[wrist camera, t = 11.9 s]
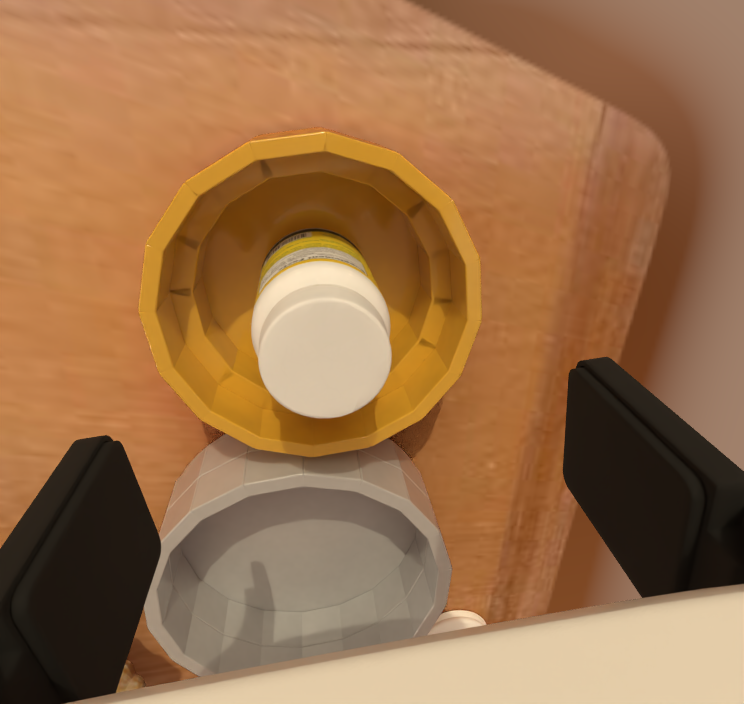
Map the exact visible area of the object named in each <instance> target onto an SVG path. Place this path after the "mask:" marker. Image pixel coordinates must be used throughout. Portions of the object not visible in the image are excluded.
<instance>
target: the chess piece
mask: <svg viewBox="0 0 744 704" xmlns="http://www.w3.org/2000/svg"><path fill="white" fill-rule="evenodd" d="M483 625H486V623H485V621H484V620H483V618H482V617H481V616H479V615H478V614H476V613H473V612H470V611H465V610H454V611H448V612H444V613H441V614H440V616H439V618H438V619H437V621H436V622H435V624H434V625H433V627H432V628H431V630H430V632H429V633H428V635H432V634H438V633H443V632H449V631H454V630H460V629H466V628H471V627H477V626H483Z"/></svg>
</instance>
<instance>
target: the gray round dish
mask: <svg viewBox="0 0 744 704" xmlns="http://www.w3.org/2000/svg"><path fill="white" fill-rule="evenodd" d="M158 534H159V537H160V540H161V555H160V558H159V562H158V565H157V568H156V571H155V574H154V577H153V580H152V583H151V586H150V589H149V592H148V595H147V598H146V601H145V604H144V611H145V616H146V622H147V627H148V630H149V631H150V632H151V634H152V635H153V636H154V637H155V639H156V640H157V641H158V643H159V644H160V645H161V647H162V648H163V649H164V650H165V652H166V653H167V654H168V656H169V657H170V658H171V660H173V661H174V662H176V663H177V664H179V665H181V666H182V667H184V668H186V669H187V670H189V671H191V672H192V673H194V674H196V675H197V676H199V677H203V676H208V675H214V674H219V673H224V672H230V671H235V670H240V669H246V668H251V667H256V666H262V665H267V664H272V663H278V662H283V661H289V660H294V659H299V658H305V657H311V656H316V655H322V654H327V653H333V652H338V651H344V650H349V649H355V648H360V647H366V646H371V645H377V644H382V643H388V642H393V641H399V640H404V639H410V638H415V637H421V636H427V635H428V633H429V632H430V630H431V628H432V627H433V625H434V624H435V622H436V621H437V619H438V618H439V616H440V614H441V613H442V611H443V610H444V608H445V606H446V604H447V598H448V592H449V586H450V580H451V574H452V565H451V562H450V559H449V556H448V553H447V549H446V546H445V543H444V540H443V537H442V534H441V531H440V528H439V525H438V522H437V519H436V517H435V514H434V511H433V508H432V505H431V502H430V499H429V496H428V493H427V490H426V487H425V485H424V482H423V479H422V476H421V473H420V472H419V470H418V469H417V468H416V466H415V464H414V463H413V462H412V460H411V459H410V458H409V457H408V455H407V454H406V453H405V452H404V451H403V450H402V449H401V448H400V447H399V446H398V445H397V444H396V443H395V442H393V441H392V440H390V439H389V438H387V439H385V440H383V441H381V442H380V443H378V444H376V445H374V446H372V447H371V446H370V447H369V448H364V449H358V450H352V451H347V452H341V453H335V454H330V455H324V456H318V457H306V456H299V455H292V454H286V453H279V452H272V451H265V450H259V449H255V448H252V447H250V446H248V445H246V444H244V443H243V442H241V441H239V440H237V439H235V438H233V437H231V436H229V435H227V434H224V435H223V436H221V437H220V438H218V439H217V440H215V441H214V442H212V443H211V444H209V445H208V446H207V447H206V448H205V449H203V450H202V451H201V452H200V453H199V454H198V455H196V457H195V458H194V459H193V460H192V461H191V462H190V463H189V465H188V466H187V467H186V468H185V470H184V471H183V473H182V474H181V476H180V477H179V478H178V479H177V481H176V483H175V486H174V488H173V491H172V494H171V497H170V500H169V503H168V506H167V509H166V512H165V515H164V518H163V521H162V524H161V527H160V530H159V533H158Z"/></svg>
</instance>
